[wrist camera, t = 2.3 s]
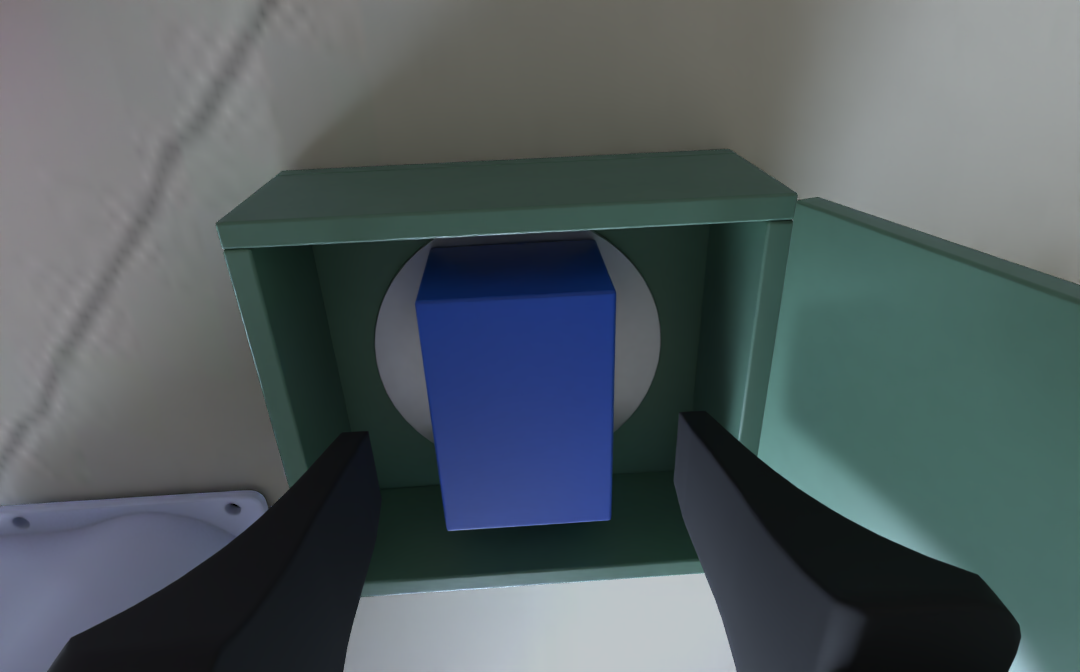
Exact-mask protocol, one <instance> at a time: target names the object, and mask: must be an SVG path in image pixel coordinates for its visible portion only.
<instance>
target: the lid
mask: <svg viewBox="0 0 1080 672" xmlns="http://www.w3.org/2000/svg"><path fill="white" fill-rule="evenodd" d="M757 457H758V458H759V459H761V460H762V461H763V462H764V463H766V464H767V465H768V466H769V467H771V468H772V469H773V470H775V471H776V472H777V473H779V474H780V475H781V476H783V477H784V478H785V479H787V480H788V481H789V482H791V483H792V484H793V485H795V486H796V487H798V488H799V489H801V490H802V491H803V492H805V493H806V494H808V495H809V496H811V497H813V498H814V499H816V500H817V501H819V502H821V503H822V504H824V505H825V506H827V507H829V508H830V509H832V510H834V511H835V512H837V513H839V514H840V515H842V516H844V517H846V518H848V519H849V520H851V521H853V522H855V523H857V524H859V525H861V526H863V527H865V528H867V529H868V530H870V531H872V532H874V533H876V534H878V535H881V536H883V537H885V538H887V539H889V540H891V541H893V542H896V543H898V544H900V545H902V546H905V547H907V548H909V549H912V550H914V551H916V552H919V553H921V554H923V555H926V556H928V557H931V558H934V559H937V560H939V561H942V562H945V563H948V564H950V565H953V566H956V567H959V568H962V569H964V570H967V571H970V572H973V573H975V574H978V575H979V576H980V577H981V578H982V579H983V580H984V581H985V582H986V583H987V585H988V586H989V587H990V588H991V589H992V590H993V591H994V593H995V594H996V595H997V596H998V597H999V599H1000V600H1001V601H1002V602H1003V604H1004V605H1005V606H1006V607H1007V609H1008V610H1009V611H1010V612H1011V613H1012V615H1013V616H1014V618H1015V619H1016V620H1017V622H1018V623H1019V625H1020V631H1021V640H1020V644H1019V647H1018V651H1017V654H1016V656H1015V659H1014V661H1013V663H1012V665H1011V667H1010V669H1009V671H1008V672H1080V285H1078V284H1075V283H1072V282H1069V281H1066V280H1063V279H1060V278H1057V277H1054V276H1051V275H1048V274H1045V273H1042V272H1040V271H1037V270H1034V269H1031V268H1028V267H1025V266H1022V265H1019V264H1016V263H1013V262H1010V261H1007V260H1004V259H1001V258H998V257H995V256H992V255H989V254H986V253H983V252H980V251H977V250H974V249H971V248H968V247H965V246H962V245H959V244H956V243H953V242H950V241H947V240H944V239H941V238H938V237H935V236H932V235H930V234H927V233H924V232H921V231H918V230H915V229H912V228H909V227H906V226H903V225H900V224H897V223H894V222H891V221H888V220H885V219H882V218H879V217H876V216H873V215H870V214H867V213H864V212H861V211H858V210H855V209H852V208H849V207H846V206H843V205H840V204H837V203H834V202H831V201H828V200H825V199H822V198H820V197H815V198H809V199H803V200H798V201H797V202H796V206H795V213H794V219H793V226H792V232H791V239H790V245H789V252H788V258H787V265H786V272H785V278H784V285H783V291H782V298H781V304H780V311H779V317H778V324H777V330H776V337H775V344H774V350H773V357H772V363H771V370H770V376H769V383H768V389H767V396H766V402H765V409H764V416H763V422H762V429H761V435H760V442H759V448H758V455H757Z"/></svg>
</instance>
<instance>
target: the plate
mask: <svg viewBox="0 0 1080 672" xmlns="http://www.w3.org/2000/svg"><path fill="white" fill-rule="evenodd" d="M578 240H595V241H596V243H597V245H598V248H599V250H600V253H601V255H602V258H603V260H604V263H605V265H606V268H607V270H608V273H609V275H610V278H611V280H612V283H613V285H614V288H615V290H616V334H615V381H614V428H613V433H614V432H615V431H616V430H618V429H619V428H620V427H621V426H622V425H623V424H624V423H625V422H626V421H627V420H628V419H629V418H630V417H631V415H632V414H633V413H634V412H635V410H636V409H637V408H638V407H639V405H640V404H641V402H642V400H643V399H644V397H645V395H646V394H647V392H648V390H649V388H650V386H651V383H652V381H653V379H654V376H655V373H656V369H657V366H658V362H659V356H660V349H661V327H660V321H659V315H658V310H657V307H656V304H655V301H654V298H653V295H652V293H651V291H650V289H649V287H648V285H647V283H646V281H645V279H644V278H643V276H642V275H641V273H640V272H639V270H638V269H637V268H636V266H635V265H634V263H633V262H632V261H631V260H630V259H629V258H628V257H627V256H626V255H625V254H624V253H623V252H622V251H621V250H620V249H619V248H618V247H616V246H615V245H614V244H613V243H611V242H610V241H609V240H607V239H606V238H604V237H603V236H601V235H599V234H598V233H596V232H594V231H593V230H584V231H565V232H546V233H527V234H508V235H489V236H470V237H450V238H433V239H431V240H430V241H429V242H427V243H426V244H424V245H423V246H422V247H420V248H419V249H418V250H417V251H416V252H415V253H414V254H413V255H412V256H411V257H410V258H409V259H408V260H407V261H406V262H405V263H404V264H403V266H402V267H401V268H400V270H399V271H398V272H397V274H396V275H395V276H394V278H393V280H392V282H391V283H390V285H389V287H388V289H387V291H386V293H385V295H384V298H383V301H382V303H381V306H380V309H379V312H378V316H377V321H376V326H375V341H374V347H375V357H376V363H377V367H378V371H379V375H380V378H381V381H382V383H383V386H384V388H385V390H386V393H387V394H388V396H389V398H390V399H391V401H392V403H393V405H394V406H395V408H396V409H397V410H398V411H399V413H400V414H401V415H402V416H403V418H404V419H405V420H406V421H407V422H408V423H409V424H410V425H411V426H412V427H413V428H414V429H415V430H416V431H417V432H419V433H420V434H421V435H423V436H424V437H425V438H427V439H428V440H429V441H431V442H432V443H434V438H433V431H432V424H431V416H430V409H429V402H428V395H427V388H426V381H425V373H424V366H423V359H422V352H421V345H420V338H419V331H418V323H417V316H416V309H415V301H416V298H417V294H418V291H419V287H420V283H421V280H422V276H423V273H424V269H425V266H426V262H427V259H428V255H429V251H430V249H432V248H445V247H464V246H483V245H502V244H521V243H540V242H559V241H578Z"/></svg>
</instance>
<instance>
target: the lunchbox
mask: <svg viewBox="0 0 1080 672" xmlns="http://www.w3.org/2000/svg"><path fill="white" fill-rule="evenodd" d="M797 198H798V195H797V193H796V192H794V191H793V190H791V189H790V188H788V187H787V186H785V185H784V184H782V183H781V182H779V181H778V180H776V179H774V178H773V177H771V176H770V175H768V174H767V173H765V172H764V171H762V170H761V169H759V168H758V167H756V166H754V165H753V164H751V163H750V162H748V161H747V160H745V159H744V158H742V157H741V156H739V155H737V154H736V153H735V152H733V151H732V150H730V149H720V150H699V151H678V152H658V153H637V154H617V155H596V156H576V157H555V158H534V159H514V160H493V161H473V162H452V163H431V164H411V165H390V166H370V167H349V168H328V169H308V170H287V171H281V172H280V173H279V174H277V175H276V177H274V178H273V179H271V180H270V181H269V182H268V183H266V184H265V185H264V186H262V187H261V188H260V189H259V190H257V191H256V192H255V193H253V194H252V195H251V196H250V197H248V198H247V199H246V200H245V201H243V202H242V203H241V204H239V205H238V206H237V207H236V208H234V209H233V210H232V211H231V212H229V213H228V214H227V215H225V216H224V217H223V218H222V219H220V220H219V221H218V222H216V229H217V232H218V236H219V239H220V243H221V246H222V248H223V249H225V250H224V252H223V253H224V257H225V261H226V264H227V268H228V271H229V275H230V278H231V282H232V286H233V289H234V293H235V296H236V300H237V303H238V307H239V310H240V314H241V318H242V321H243V325H244V328H245V332H246V335H247V339H248V342H249V346H250V349H251V353H252V357H253V360H254V364H255V367H256V371H257V374H258V378H259V381H260V385H261V389H262V392H263V396H264V399H265V403H266V406H267V410H268V413H269V417H270V421H271V424H272V428H273V431H274V435H275V438H276V442H277V445H278V449H279V453H280V456H281V460H282V463H283V467H284V470H285V474H286V477H287V481H288V485H289V488H291V487H292V486H293V485H294V484H295V483H296V482H297V480H298V479H299V478H300V477H301V476H302V475H303V474H304V473H305V472H306V471H307V470H308V469H309V468H310V467H311V465H312V464H313V463H314V462H315V461H316V460H317V459H318V458H319V457H320V456H321V454H322V453H323V452H324V451H325V450H326V449H327V448H328V447H329V446H330V444H331V443H332V442H333V441H334V440H335V439H336V438H337V437H338V436H339V435H340V434H341V433H342V432H358V431H368V432H369V437H370V442H371V447H372V452H373V457H374V462H375V467H376V472H377V478H378V483H379V488H380V493H381V498H382V502H381V510H380V517H379V524H378V531H377V538H376V542H375V546H374V550H373V553H372V557H371V561H370V564H369V568H368V572H367V575H366V579H365V582H364V586H363V590H362V593H361V597H370V596H384V595H399V594H413V593H427V592H442V591H456V590H470V589H485V588H499V587H513V586H527V585H542V584H556V583H570V582H585V581H599V580H613V579H628V578H642V577H656V576H670V575H685V574H699V573H704V570H703V568H702V565H701V563H700V560H699V558H698V555H697V553H696V550H695V548H694V545H693V543H692V540H691V538H690V535H689V533H688V530H687V528H686V525H685V522H684V520H683V516H682V512H681V509H680V505H679V501H678V497H677V493H676V488H675V484H674V470H675V458H676V445H677V432H678V420H679V412H690V411H706V412H707V413H708V414H710V415H711V416H712V417H713V418H714V419H715V420H716V421H717V422H718V423H720V424H721V425H722V426H723V427H724V428H725V429H726V430H727V431H728V432H729V433H731V434H732V435H733V436H734V437H735V438H736V439H737V440H738V441H740V442H741V443H742V444H743V445H744V446H745V447H746V448H748V449H749V450H750V451H751V452H752V453H753V454H755V455H756V456H757V455H758V448H759V442H760V435H761V429H762V422H763V416H764V409H765V402H766V396H767V389H768V383H769V376H770V370H771V363H772V357H773V350H774V344H775V337H776V330H777V324H778V317H779V311H780V304H781V298H782V291H783V285H784V278H785V272H786V265H787V258H788V252H789V245H790V239H791V232H792V226H793V220H792V219H794V213H795V206H796V202H797ZM584 230H593V231H594V232H596V233H598V234H599V235H601V236H603V237H604V238H606V239H607V240H609V241H610V242H611V243H613V244H614V245H615V246H616V247H618V248H619V249H620V250H621V251H622V252H623V253H624V254H625V255H626V256H627V257H628V258H629V259H630V260H631V261H632V262H633V263H634V265H635V266H636V268H637V269H638V270H639V272H640V273H641V275H642V276H643V278H644V279H645V281H646V283H647V285H648V287H649V289H650V291H651V293H652V295H653V298H654V301H655V304H656V307H657V310H658V315H659V321H660V327H661V349H660V356H659V362H658V366H657V369H656V373H655V376H654V379H653V381H652V383H651V386H650V388H649V390H648V392H647V394H646V395H645V397H644V399H643V400H642V402H641V404H640V405H639V407H638V408H637V409H636V410H635V412H634V413H633V414H632V415H631V417H630V418H629V419H628V420H627V421H626V422H625V423H624V424H623V425H622V426H621V427H620V428H619V429H618V430H616V431H615V432H614V433H613V475H612V517H611V519H610V520H606V521H591V522H576V523H561V524H546V525H531V526H516V527H501V528H486V529H472V530H457V531H448V530H447V529H446V524H445V517H444V510H443V502H442V495H441V488H440V481H439V474H438V467H437V459H436V452H435V445H434V443H432V442H431V441H429V440H428V439H427V438H425V437H424V436H423V435H421V434H420V433H419V432H417V431H416V430H415V429H414V428H413V427H412V426H411V425H410V424H409V423H408V422H407V421H406V420H405V419H404V418H403V416H402V415H401V414H400V413H399V411H398V410H397V409H396V408H395V406H394V405H393V403H392V401H391V399H390V398H389V396H388V394H387V393H386V390H385V388H384V386H383V383H382V381H381V378H380V375H379V371H378V367H377V363H376V357H375V347H374V341H375V326H376V321H377V316H378V312H379V309H380V306H381V303H382V301H383V298H384V295H385V293H386V291H387V289H388V287H389V285H390V283H391V282H392V280H393V278H394V276H395V275H396V274H397V272H398V271H399V270H400V268H401V267H402V266H403V264H404V263H405V262H406V261H407V260H408V259H409V258H410V257H411V256H412V255H413V254H414V253H415V252H416V251H417V250H418V249H419V248H420V247H422V246H423V245H424V244H426V243H427V242H429V241H430V240H431V239H433V238H450V237H470V236H489V235H508V234H527V233H546V232H565V231H584Z"/></svg>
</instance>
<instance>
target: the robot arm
mask: <svg viewBox="0 0 1080 672" xmlns="http://www.w3.org/2000/svg"><path fill="white" fill-rule="evenodd" d="M674 484H675V488H676V493H677V497H678V501H679V505H680V509H681V512H682V516H683V520H684V522H685V525H686V528H687V530H688V533H689V535H690V538H691V540H692V543H693V545H694V548H695V550H696V553H697V555H698V558H699V560H700V563H701V565H702V568H703V570H704V573H705V575H706V578H707V580H708V583H709V585H710V588H711V590H712V593H713V595H714V598H715V600H716V603H717V606H718V609H719V612H720V615H721V617H722V620H723V624H724V627H725V631H726V634H727V638H728V641H729V645H730V648H731V652H732V656H733V659H734V663H735V666H736V670H737V672H1008V671H1009V669H1010V667H1011V665H1012V663H1013V661H1014V659H1015V656H1016V654H1017V651H1018V647H1019V644H1020V640H1021V631H1020V625H1019V623H1018V622H1017V620H1016V619H1015V618H1014V616H1013V615H1012V613H1011V612H1010V611H1009V610H1008V609H1007V607H1006V606H1005V605H1004V604H1003V602H1002V601H1001V600H1000V599H999V597H998V596H997V595H996V594H995V593H994V591H993V590H992V589H991V588H990V587H989V586H988V585H987V583H986V582H985V581H984V580H983V579H982V578H981V577H980V576H979V575H978V574H975V573H973V572H970V571H967V570H964V569H962V568H959V567H956V566H953V565H950V564H948V563H945V562H942V561H939V560H937V559H934V558H931V557H928V556H926V555H923V554H921V553H919V552H916V551H914V550H912V549H909V548H907V547H905V546H902V545H900V544H898V543H896V542H893V541H891V540H889V539H887V538H885V537H883V536H881V535H878V534H876V533H874V532H872V531H870V530H868V529H867V528H865V527H863V526H861V525H859V524H857V523H855V522H853V521H851V520H849V519H848V518H846V517H844V516H842V515H840V514H839V513H837V512H835V511H834V510H832V509H830V508H829V507H827V506H825V505H824V504H822V503H821V502H819V501H817V500H816V499H814V498H813V497H811V496H809V495H808V494H806V493H805V492H803V491H802V490H801V489H799V488H798V487H796V486H795V485H793V484H792V483H791V482H789V481H788V480H787V479H785V478H784V477H783V476H781V475H780V474H779V473H777V472H776V471H775V470H773V469H772V468H771V467H769V466H768V465H767V464H766V463H764V462H763V461H762V460H761V459H759V458H758V457H757V456H756V455H755V454H753V453H752V452H751V451H750V450H749V449H748V448H746V447H745V446H744V445H743V444H742V443H741V442H740V441H738V440H737V439H736V438H735V437H734V436H733V435H732V434H731V433H729V432H728V431H727V430H726V429H725V428H724V427H723V426H722V425H721V424H720V423H718V422H717V421H716V420H715V419H714V418H713V417H712V416H711V415H710V414H708V413H707V412H706V411H690V412H679V420H678V432H677V445H676V458H675V470H674ZM381 502H382V498H381V493H380V488H379V483H378V478H377V472H376V467H375V462H374V457H373V452H372V447H371V442H370V437H369V432H368V431H358V432H342V433H341V434H340V435H339V436H338V437H337V438H336V439H335V440H334V441H333V442H332V443H331V444H330V446H329V447H328V448H327V449H326V450H325V451H324V452H323V453H322V454H321V456H320V457H319V458H318V459H317V460H316V461H315V462H314V463H313V464H312V465H311V467H310V468H309V469H308V470H307V471H306V472H305V473H304V474H303V475H302V476H301V477H300V478H299V479H298V480H297V482H296V483H295V484H294V485H293V486H292V487H291V488H290V489H289V490H288V491H287V492H286V493H285V494H284V495H283V496H282V497H281V498H280V499H279V500H278V501H277V502H276V503H275V504H274V505H272V506H271V507H270V508H269V509H268V505H267V502H266V500H265V498H264V496H263V495H262V494H260V493H259V492H256V491H254V490H240V491H224V492H209V493H193V494H177V495H162V496H146V497H131V498H115V499H100V500H84V501H68V502H53V503H37V504H22V505H6V506H0V672H343V670H344V664H345V658H346V652H347V646H348V642H349V638H350V633H351V629H352V625H353V622H354V618H355V614H356V611H357V607H358V604H359V600H360V597H361V593H362V590H363V586H364V582H365V579H366V575H367V572H368V568H369V564H370V561H371V557H372V553H373V550H374V546H375V542H376V538H377V531H378V524H379V517H380V510H381ZM230 503H233V504H236V505H238V506H239V507H235V506H233V505H231V504H230Z"/></svg>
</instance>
